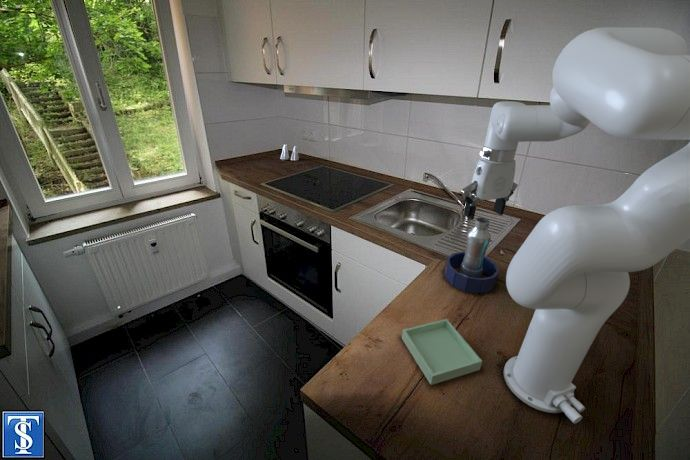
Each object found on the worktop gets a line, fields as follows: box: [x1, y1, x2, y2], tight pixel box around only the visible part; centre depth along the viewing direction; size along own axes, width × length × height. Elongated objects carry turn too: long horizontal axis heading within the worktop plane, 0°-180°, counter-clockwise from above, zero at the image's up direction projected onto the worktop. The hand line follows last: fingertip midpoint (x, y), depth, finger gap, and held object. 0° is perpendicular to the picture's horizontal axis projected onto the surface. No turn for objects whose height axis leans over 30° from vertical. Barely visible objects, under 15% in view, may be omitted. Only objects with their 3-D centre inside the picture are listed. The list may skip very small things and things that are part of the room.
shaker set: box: [280, 143, 300, 162], centre depth 211 cm, size 12×4×11 cm, turn 97°
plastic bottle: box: [459, 217, 492, 278], centre depth 93 cm, size 6×7×20 cm
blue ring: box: [444, 251, 500, 295], centre depth 96 cm, size 15×15×5 cm
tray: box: [401, 318, 483, 386], centre depth 71 cm, size 13×12×3 cm
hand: (483, 215), depth 87 cm, fingers open, 9 cm apart
